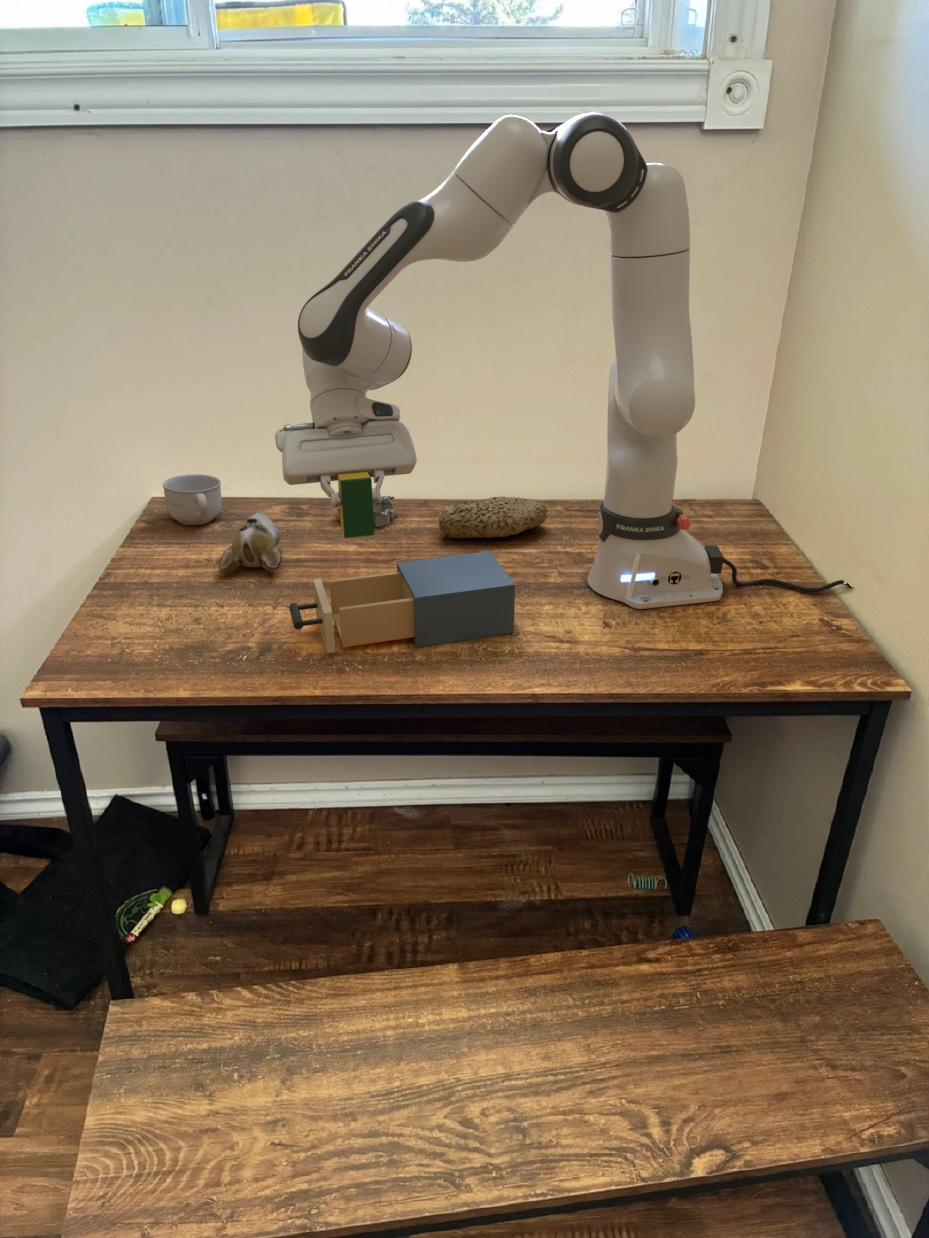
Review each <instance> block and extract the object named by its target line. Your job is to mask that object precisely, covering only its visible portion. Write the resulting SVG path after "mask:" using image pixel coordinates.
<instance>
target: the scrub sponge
mask: <svg viewBox="0 0 929 1238" xmlns="http://www.w3.org/2000/svg"><path fill="white" fill-rule="evenodd" d="M372 479H373V478H372V477H370V476H369V474H368V472H360V473H350V474H339V475H338V481H337V485H338V492H340V493H341V499H342V506H340V516H341V521H340V528H341V532H342V534H343V537H344V539H349V538H350V539H351V538H358V537H359V538H360V537H367V536H368V537H369V536H375V524H374V520H373V499H372V488H373V482H372V481H373V480H372Z"/></svg>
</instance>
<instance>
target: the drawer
mask: <svg viewBox="0 0 929 1238" xmlns="http://www.w3.org/2000/svg"><path fill="white" fill-rule="evenodd" d="M312 583H313V594H314V602H312V603H306V604H305V603H304V604H299V605H298V603H297V602H292V603H290V604H289V606H288V609H289V613H290V616H291V621H292V625H293V628H294V629H295V630H298V631H299V630H302V629H303V628H304V627H306V626H307V627H308V626H313V625H318V627H319V631H320V634H321V637H322V640H323V644H324V647H325V650H326V653H327V654H331V653H335V652H336V643H335V631H334V625H335V628H336V631H337V635H338V637H339V640H340V643H341V647H342V648H347V647H354V646H361V645H369V644H375V643H382V642H389V641H396V640H397V641H398V640H403V639H411V638H412V637H415V608H414V598H413V596H412V594H411V592H410V590H409V589H408V587H407V585H406V583H405V581H404V579H403V577H402V575H401V573H400V571H398V572H397V571H392V572H383V573H375V574H367V575H359V576H350V577H342V578H334V579H329V592H330V602H329V598H328V596H327V593H326V590H325V586H324V584H323V581H322V578H314V579H312ZM313 609H315V617H316V618H313V619H306V620H303V618H302V615H301V611H304V610H305V611H306V610H313Z"/></svg>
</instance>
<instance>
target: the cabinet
mask: <svg viewBox="0 0 929 1238" xmlns="http://www.w3.org/2000/svg"><path fill="white" fill-rule="evenodd" d="M398 571H400V573H401V575H402V577H403V579H404V581H405V583H406V585H407V587H408V589H409V590H410V592H411V594H412V596H413V598H414V608H415V637H411V638H412V641H413V643H414V645H415V647H416V648H420V647H427V646H434V645H441V644H447V643H454V642H461V641H468V640H475V639H476V640H477V639H483V638H489V637H496V636H503V635H508V634H509V635H510V634H514V633H515V609H516V608H515V605H516V604H515V603H516V584H515V582H514V581H513V579H512V578H511V576H510V575H509V574H508V573H507V572H506V570H505V569H504V567H503V566H502V565H501V563H500V562H499V561H498V560H497V558H496V557H495V556H494V554H493V553H492V551H491V550H489V551H488V550H487V551H481V552H479V551H478V552H472V553H464V554H455V555H448V556H439V557H431V558H424V559H423V558H422V559H415V560H414V559H413V560H407V561H398V562H396V572H398Z"/></svg>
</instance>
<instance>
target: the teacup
mask: <svg viewBox="0 0 929 1238" xmlns="http://www.w3.org/2000/svg"><path fill="white" fill-rule="evenodd" d="M221 485H222V481H221V480H220V478H218V477H216V476H214V475H210V474H200V473H199V474H198V473H197V474H195V473H192V474H189V473H188V474H181V475H176V476H173V477H169V478H167V479H166V480H164V481H163V483H162V488H163V493H164V494H163V495H164V500H165V507H166V511H167V513H168V514H169V516H170V517H171V518H172V519H174V520H176V521H177V522H178V523H180V524H182V525H186V526H198V525H199V526H200V525H204V524H208V523H210V522H212V521H213V520H214V519H215V518H216V517H217V516H218V515H219V514H220V512H221V510H222V486H221Z"/></svg>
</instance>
